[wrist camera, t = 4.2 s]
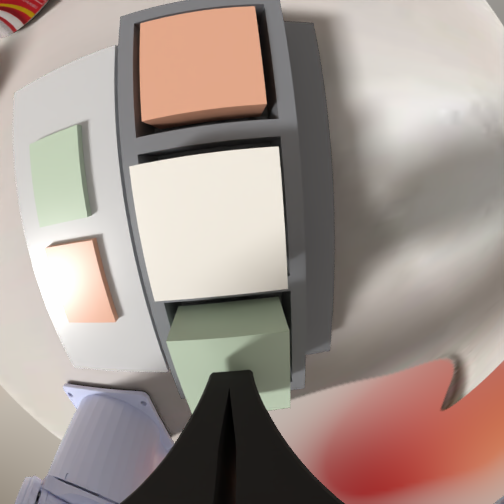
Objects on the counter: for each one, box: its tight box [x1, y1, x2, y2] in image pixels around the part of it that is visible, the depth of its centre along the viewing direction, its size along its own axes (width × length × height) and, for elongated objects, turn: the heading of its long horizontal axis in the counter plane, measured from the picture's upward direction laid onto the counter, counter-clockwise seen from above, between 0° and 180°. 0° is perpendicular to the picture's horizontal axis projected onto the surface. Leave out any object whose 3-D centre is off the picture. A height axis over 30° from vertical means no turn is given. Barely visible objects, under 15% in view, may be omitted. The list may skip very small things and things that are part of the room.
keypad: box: [13, 0, 334, 399], centre depth 11 cm, size 17×16×4 cm
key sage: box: [166, 296, 290, 414], centre depth 10 cm, size 4×4×2 cm
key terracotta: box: [140, 6, 267, 129], centre depth 8 cm, size 4×4×2 cm
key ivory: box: [129, 146, 288, 301], centre depth 8 cm, size 4×4×2 cm
